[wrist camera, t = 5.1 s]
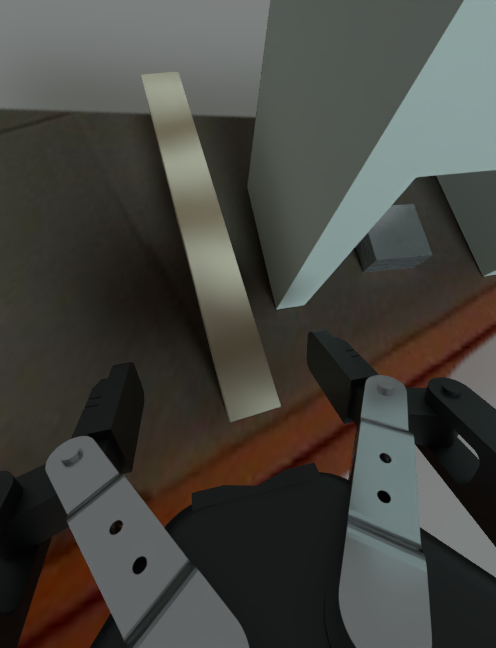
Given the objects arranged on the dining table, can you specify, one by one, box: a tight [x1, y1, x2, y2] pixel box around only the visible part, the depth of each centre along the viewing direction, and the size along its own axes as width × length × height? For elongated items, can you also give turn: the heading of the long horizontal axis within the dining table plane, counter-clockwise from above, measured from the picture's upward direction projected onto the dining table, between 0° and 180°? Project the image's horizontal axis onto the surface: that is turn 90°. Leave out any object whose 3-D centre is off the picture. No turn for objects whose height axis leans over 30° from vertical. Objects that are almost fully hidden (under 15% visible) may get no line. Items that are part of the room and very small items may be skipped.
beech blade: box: [141, 71, 281, 422], centre depth 18 cm, size 22×2×8 cm, turn 16°
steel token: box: [356, 204, 432, 272], centre depth 23 cm, size 5×5×2 cm
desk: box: [247, 0, 496, 310], centre depth 15 cm, size 13×22×21 cm, turn 101°
